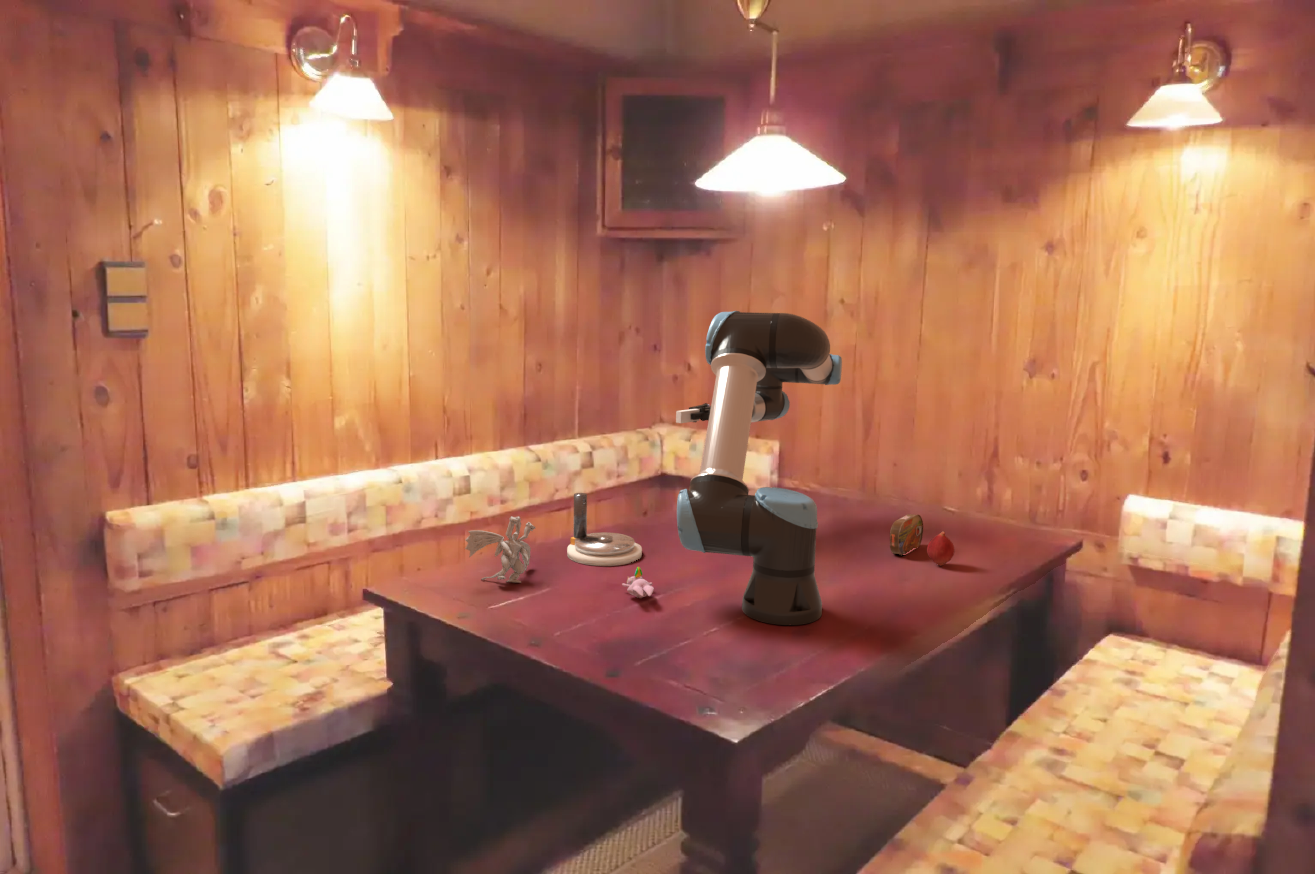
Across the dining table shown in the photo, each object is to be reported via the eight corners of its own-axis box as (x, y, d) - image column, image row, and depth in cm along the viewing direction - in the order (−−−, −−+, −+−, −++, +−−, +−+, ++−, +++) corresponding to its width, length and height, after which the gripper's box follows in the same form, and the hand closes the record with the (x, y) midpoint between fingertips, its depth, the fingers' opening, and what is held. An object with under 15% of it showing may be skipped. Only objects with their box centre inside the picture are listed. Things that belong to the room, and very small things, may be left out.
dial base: (620, 570, 198) (620, 557, 197) (553, 558, 205) (553, 546, 204) (654, 550, 213) (654, 537, 212) (590, 540, 220) (590, 528, 219)
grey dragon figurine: (453, 574, 185) (463, 507, 189) (519, 589, 197) (527, 526, 202) (484, 573, 178) (494, 504, 182) (550, 588, 191) (558, 523, 195)
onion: (923, 567, 205) (926, 532, 203) (928, 560, 210) (931, 526, 208) (950, 571, 202) (953, 536, 201) (955, 564, 207) (957, 530, 206)
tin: (898, 559, 210) (901, 524, 209) (885, 557, 212) (888, 521, 210) (923, 545, 222) (925, 512, 220) (910, 543, 224) (913, 509, 222)
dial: (641, 541, 213) (642, 492, 211) (623, 558, 200) (624, 506, 198) (584, 536, 217) (584, 487, 215) (562, 551, 204) (563, 500, 202)
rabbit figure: (618, 591, 189) (630, 605, 174) (618, 562, 188) (629, 574, 174) (648, 590, 190) (662, 604, 175) (648, 561, 190) (662, 573, 175)
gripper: (763, 426, 224) (699, 436, 207) (722, 420, 233) (657, 429, 216) (764, 396, 222) (700, 404, 206) (723, 391, 231) (658, 398, 215)
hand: (678, 417), depth 211 cm, fingers closed
